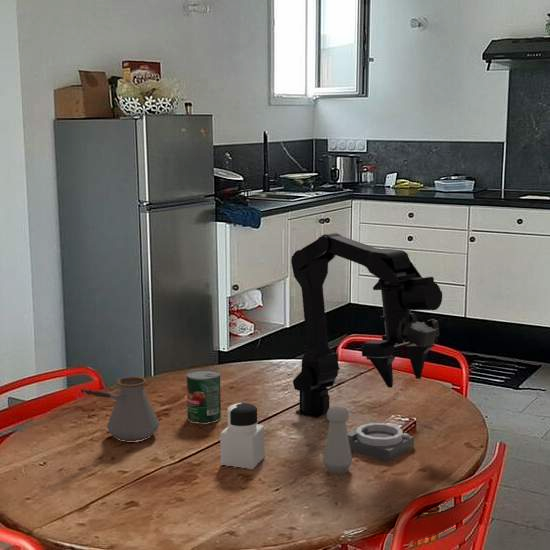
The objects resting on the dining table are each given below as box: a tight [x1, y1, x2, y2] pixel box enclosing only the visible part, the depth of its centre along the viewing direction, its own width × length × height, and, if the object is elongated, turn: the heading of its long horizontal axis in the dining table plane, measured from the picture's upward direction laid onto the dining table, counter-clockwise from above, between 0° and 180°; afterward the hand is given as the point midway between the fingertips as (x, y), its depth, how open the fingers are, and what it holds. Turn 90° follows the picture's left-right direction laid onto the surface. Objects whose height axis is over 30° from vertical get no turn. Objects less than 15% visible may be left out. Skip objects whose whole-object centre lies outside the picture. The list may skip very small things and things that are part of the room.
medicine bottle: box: [219, 402, 266, 470], centre depth 175 cm, size 7×7×12 cm
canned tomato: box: [186, 368, 222, 423], centre depth 200 cm, size 8×8×11 cm
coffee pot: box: [76, 376, 160, 441], centre depth 185 cm, size 21×12×15 cm, turn 147°
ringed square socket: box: [347, 420, 415, 463], centre depth 182 cm, size 11×10×4 cm
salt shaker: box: [322, 406, 353, 475], centre depth 170 cm, size 6×6×13 cm
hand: (404, 382), depth 182 cm, fingers open, 9 cm apart
